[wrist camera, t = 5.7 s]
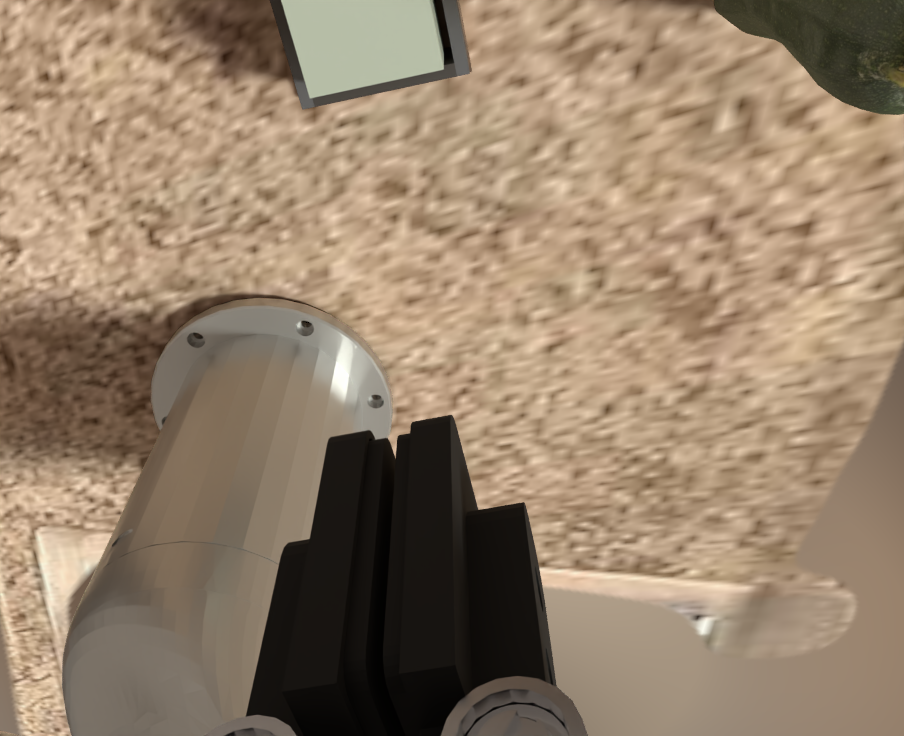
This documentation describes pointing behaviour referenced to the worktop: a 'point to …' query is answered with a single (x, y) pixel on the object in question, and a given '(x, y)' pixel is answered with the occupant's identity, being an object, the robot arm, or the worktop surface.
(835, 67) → the vegetable
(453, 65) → the gray compartment tray
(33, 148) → the worktop surface
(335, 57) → the sage key
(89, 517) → the worktop surface
